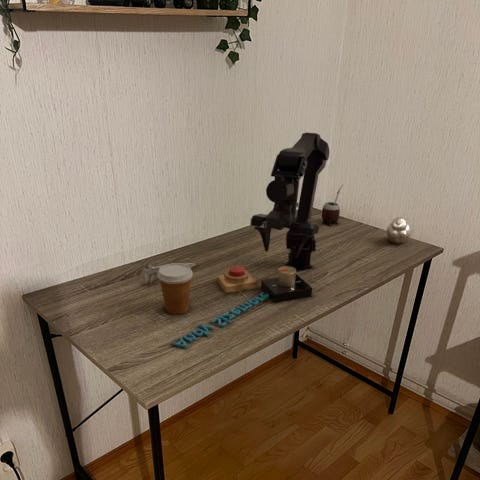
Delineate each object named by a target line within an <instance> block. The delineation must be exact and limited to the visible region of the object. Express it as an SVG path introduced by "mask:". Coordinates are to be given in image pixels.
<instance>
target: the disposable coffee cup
mask: <svg viewBox="0 0 480 480" xmlns="http://www.w3.org/2000/svg"><path fill="white" fill-rule="evenodd" d="M185 264H186V263H180V262H174V263H167V264H164V265H161V266H162V267H161V268H160V269H159V272H158V274H157V275H156V276H157V278H158V280H159V284H160V289H161V292H162V298H163V302H164V306H165V310H166V312H167V313H169V314H173V315H179V314H180V315H181V314H184V313H186V312H188V310H189V306H190V296H191V295H190V294H191V283H192V278H193V276H194V272H193V270H192V268H190V267H189V266H188V265H185Z"/></svg>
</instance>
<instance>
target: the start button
mask: <svg viewBox="0 0 480 480" xmlns="http://www.w3.org/2000/svg"><path fill="white" fill-rule="evenodd" d="M228 270H229V275H230V276H233V277H241V276H243V275H244V270H245V269H244V267H242V266H237V265H234V266H231V267H229V269H228Z"/></svg>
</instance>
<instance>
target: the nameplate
mask: <svg viewBox="0 0 480 480" xmlns="http://www.w3.org/2000/svg"><path fill="white" fill-rule="evenodd" d="M267 299H269V295H268V294H265V293H264V292H263V291H262V292H261V293H260V294H259V297H258V296H254V297H253V298H250V299H249V300H248V302H247V301H245V302H243V304H242V303H241V304H240V306H238V305H237V306H236V307H234V308H232V309H231V310H230V312H229V311H226V312H225V313H222V315H219V316H218V317H216V318H213V319H212V320H211V324H214V323H215V322H218V323H217V326H218V327H221V328H223V327H226V326H227V323H228V324H230V323H231V322H232V321H231V320H233V319H234V318H235V317H236V316H239V315H241V312H242V313H244V312H246V311H248V309H252V307H253V306H258V304H259V302H261V303H262V302H263V301H265V300H267ZM222 321H224V322H223V323H222ZM214 329H215V326H211V325H206V324H201V323H199V324H198V325H197V328H196V329H193V331H192V333H190V332H188V333H187V336H186V335H182V337H179V341H177V342H175V341H172V342H171V343H170V345H171V346H175V347H179V348H183V349H187V348H188V343H186V341H187V342H189V343H192V342H193V341H195V340H196V339H197V338H196V337H203V336H206V337H209V336H210V333H209V330H211V331H213V330H214Z"/></svg>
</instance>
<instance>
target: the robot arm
mask: <svg viewBox="0 0 480 480" xmlns="http://www.w3.org/2000/svg"><path fill="white" fill-rule="evenodd" d="M329 159H330V147H329V144H328V142H327V141H325V140H324V139H322V137H321V135H320V134H319V133H317V132H303V133H302V134H301V135H300V138H299V139H298V140H297V142H296V143H294V144H293V146H292V147H288V148H287V147H285V148H283V149H281V150H280V151H279V152H278V154H277V155H276V157H275V161H274V164H273V167H272V170H271V172H270V177H271V178H272V177H273V178H274V179H273V180H272V181H269V183H268V184H267V187H266V188H265V195H266V197H267V199H268V200H269V201H270V202H271V203H274V204H273V208H272V210H270V211H269V212H268V214H266V213H265V214H264V213H256V214H253V215H252V216H251V218H250V226H253V227H254V230H257V231H258V233H259V235H260V237H261V240H262V245H263V248H264V252H266V253H267V252H268V251H269V248H270V241H271V233H272V229H275V230H277V231H283V229H288V231H287V232H286V236H285V244H286V247H285V248H286V250H289V252H288V256H287V262H286V264H287V266H289V267H293V268H295V269H296V272H297V271H302V270H308V269H313V265H311V258H312V257H311V256H312V253H313V252H316V248H317V245H316V244H317V240H316V237H315V235H317V234H318V233H319V229H320V226H319V223H318V222H315V221H311V219H312V213H313V208H314V204H315V203H314V202H315V196H316V192H317V186H318V180H319V175H320V173H322V171H323V170H324V169H325V167H326V166H327V165H326V164H327V161H329ZM302 177H303V178H302ZM301 178H302V183H301V189H300V180H301ZM299 189H300V195H299ZM298 197H299V198H298ZM298 199H299V200H298Z"/></svg>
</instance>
